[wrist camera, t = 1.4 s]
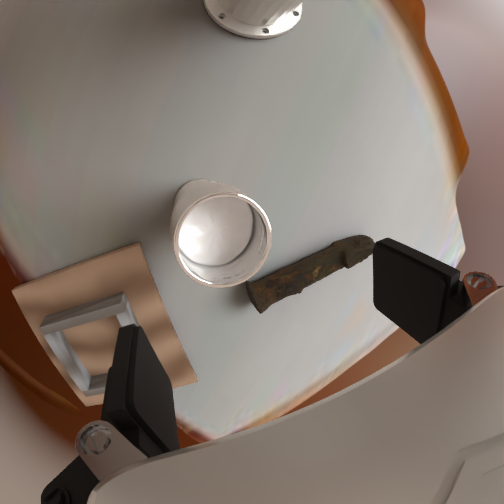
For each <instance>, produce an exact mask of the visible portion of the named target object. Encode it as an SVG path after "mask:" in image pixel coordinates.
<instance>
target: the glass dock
mask: <svg viewBox="0 0 504 504" xmlns="http://www.w3.org/2000/svg"><path fill="white" fill-rule="evenodd" d="M12 293H13V295H14V297H15V299H16V301H17V303H18V305H19V307H20V309H21V311H22V312H23V314H24V316H25V318H26V320H27V322H28V323H29V325H30V327H31V329H32V330H33V332H34V334H35V335H36V337H37V339H38V341H39V342H40V344H41V345H42V347H43V349H44V350H45V352H46V353H47V355H48V356H49V358H50V359H51V361H52V362H53V364H54V365H55V367H56V368H57V369H58V371H59V372H60V374H61V375H62V376H63V378H64V379H65V380H66V382H67V383H68V384H69V386H70V387H71V388H72V389H73V391H74V392H75V393H76V395H77V396H78V397H79V398H80V400H81V401H82V402H83V403H84V404H85V406H92V405H98V404H103V400H104V393H105V387H106V381H107V375H108V370H109V368H110V367H111V366H112V362H113V356H114V351H115V346H116V341H117V336H118V331H119V328H120V327H123V326H126V325H130V324H133V323H134V324H135V325H136V326H141V327H142V328H143V330H144V332H145V334H146V336H147V338H148V340H149V342H150V344H151V346H152V348H153V349H154V351H155V353H156V355H157V357H158V359H159V361H160V362H161V364H162V366H163V368H164V370H165V371H166V373H167V375H168V377H169V378H170V381H171V384H172V388H176V387H180V386H183V385H187V384H191V383H194V382H197V377H196V374H195V372H194V370H193V368H192V366H191V364H190V362H189V360H188V358H187V356H186V354H185V352H184V350H183V347H182V345H181V343H180V341H179V339H178V337H177V334H176V332H175V330H174V328H173V325H172V323H171V321H170V318H169V316H168V314H167V311H166V309H165V307H164V304H163V302H162V299H161V297H160V295H159V292H158V290H157V287H156V284H155V282H154V279H153V277H152V274H151V271H150V269H149V266H148V263H147V261H146V258H145V255H144V252H143V250H142V247H141V244H140V242H138V243H135V244H132V245H129V246H126V247H123V248H120V249H117V250H114V251H111V252H108V253H105V254H103V255H100V256H97V257H94V258H91V259H88V260H85V261H83V262H80V263H77V264H74V265H72V266H69V267H66V268H63V269H61V270H58V271H55V272H53V273H50V274H47V275H45V276H42V277H39V278H37V279H34V280H32V281H29V282H27V283H24V284H22V285H19V286H17V287H15V288H14V289H13V290H12Z"/></svg>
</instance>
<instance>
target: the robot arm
mask: <svg viewBox="0 0 504 504" xmlns="http://www.w3.org/2000/svg"><path fill="white" fill-rule="evenodd" d="M303 1H304V0H204V5H205V8H206V10H207V12H208V14H209V15H210V17H211V18H212V19H213V20H214V21H215V22H216V23H217V24H219V25H220V26H221V27H223V28H224V29H226V30H228V31H230V32H232V33H235V34H237V35H240V36H244V37H248V38H256V39H267V38H273V37H277V36H280V35H283V34H285V33H286V32H288V31H290V30H291V29H292V28H293V27H294V26H295V25H296V24H297V23H298V21H299V20H300V18H301V15H302V2H303ZM220 18H222V19H220ZM263 32H264V33H263ZM459 277H460V271H459V270H457V269H455V268H453V267H451V266H449V265H447V264H445V263H443V262H441V261H439V260H436V259H434V258H432V257H430V256H428V255H426V254H424V253H422V252H419V251H417V250H415V249H413V248H411V247H408V246H406V245H404V244H402V243H400V242H397V241H395V240H393V239H390V238H385V239H383V240H380V241H377V242H376V243H375V246H374V247H373V302H374V305H375V307H376V309H377V310H379V311H380V312H381V313H382V314H384V315H385V316H386V317H388V318H389V319H390V320H391V321H393V322H394V323H395V324H396V325H398V326H399V327H400V328H401V329H403V330H404V331H405V332H406V333H408V334H409V335H410V336H411V337H413V338H414V339H415V340H416V341H418V342H419V343H420V344H421V345H420V346H418V347H416V348H415V349H413V350H412V351H410V352H409V353H407V354H405V355H404V356H402V357H401V358H399V359H397V360H396V361H394V362H393V363H391V364H389V365H387V366H386V367H384V368H382V369H381V370H379V371H377V372H375V373H374V374H372V375H370V376H368V377H366V378H364V379H363V380H361V381H359V382H357V383H355V384H353V385H351V386H349V387H347V388H345V389H343V390H341V391H339V392H337V393H335V394H333V395H331V396H329V397H327V398H325V399H323V400H320V401H319V402H316V403H314V404H311V405H309V406H307V407H305V408H302V409H300V410H298V411H295V412H293V413H290V414H288V415H286V416H283V417H280V418H278V419H275V420H272V421H270V422H267V423H264V424H261V425H259V426H256V427H253V428H250V429H247V430H244V431H241V432H238V433H235V434H232V435H228V436H225V437H222V438H219V439H215V440H212V441H208V442H205V443H201V444H197V445H194V446H189V447H186V448H182V449H180V448H179V441H178V434H177V426H176V418H175V410H174V401H173V391H172V384H171V381H170V378H169V377H168V375H167V373H166V371H165V370H164V368H163V366H162V364H161V362H160V361H159V359H158V357H157V355H156V353H155V351H154V349H153V348H152V346H151V344H150V342H149V340H148V338H147V336H146V334H145V332H144V330H143V328H142V327H141V326H136V325H135V324H134V323H133V324H130V325H126V326H123V327H120V328H119V331H118V336H117V341H116V346H115V351H114V356H113V362H112V366H111V367H110V368H109V370H108V375H107V381H106V387H105V393H104V400H103V408H102V416H101V420H100V421H93V422H91V423H89V424H87V425H86V426H84V427H83V428H82V429H81V430H80V431H79V433H78V435H77V437H76V441H75V447H76V450H77V452H78V454H79V456H78V457H77V458H76V459H75V460H74V461H72V463H70V464H69V465H68V466H67V467H66V468H65V469H64V470H63V471H62V472H61V473H60V474H59V475H58V476H57V477H56V478H54V479H53V481H52V482H50V483H49V484H48V485H47V486H46V487H45V489H44V490H43V492H42V495H41V504H504V286H497V284H496V282H495V280H494V279H493V278H492V277H491V276H490V275H488V274H486V273H483V272H477V271H474V272H469V273H466V274H465V275H464V277H463V280H462V282H461V281H459Z"/></svg>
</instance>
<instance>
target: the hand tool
mask: <svg viewBox="0 0 504 504" xmlns="http://www.w3.org/2000/svg"><path fill="white" fill-rule="evenodd" d="M374 246H375V243H374V242H373V239H371V238H370V237H368V236H366V235H358V236H353V237H349V238H346V239H343V240H339V241H336V242H334V243H332V245H331V247H330V248H328V249H326V250H324V251H321V252H319V253H317V254H315V255H312V256H309V257H307V258H305V259H303V260H302V261H300V262H297V263H295V264H293V265H291V266H288V267H286V268H284V269H281V270H278V271H277V272H276V273H274V274H272V275H269V276H267V277H265V278H263V279H261V280H259V281H256V282H248V281H246V283H245V284H246V288H247V291H248V295H249V297H250V300H251V302H252V304H253V305H254V307H255V308H256V309H257V311H258V312H259V313H260V314H261V313H263V312H264V311H265V310H266V309H267V308H268V307H269V306H270V305H272V304H273V303H275V302H278V301H280V300H282V299H283V298H285V297H287V296H290V295H294V294H297V293H301V292H302V290H303V289H304V288H305V287H308V286H309V285H311V284H313V283H315V282H317V281H319V280H321V279H323V278H324V277H326V276H328V275H330V274H332V273H333V272H335V271H337V270H339V269H342V268H343V267H346V268H348V269H349V268H351V267H353V266H355V265H356V264H357V263H359V262H362V261H363V259H366V258H368V256H369V255H371V254H372V253H373V247H374Z"/></svg>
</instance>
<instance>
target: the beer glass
mask: <svg viewBox="0 0 504 504" xmlns="http://www.w3.org/2000/svg"><path fill="white" fill-rule="evenodd" d="M170 235H171V241H172V245H173V248H174V252H175V256H176V259H177V261H178V263H179V265H180V267H181V268H182V270H183V271H184V272H185V273H186V274H187V275H188V276H189V277H190V278H191V279H193V280H194V281H196V282H198V283H200V284H202V285H205V286H208V287H214V288H226V287H232V286H235V285H238V284H241V283H243V282H245V281H247V280H248V279H250V278H251V277H252V276H254V275H255V274H256V273H257V272H258V271H259V270H260V268H261V267H262V266H263V264H264V263H265V261H266V259H267V257H268V255H269V252H270V248H271V243H272V231H271V226H270V222H269V220H268V217H267V215H266V214H265V212H264V211H263V209H262V208H261V207H260V206H259V205H258V204H257V203H256V202H255V201H254V200H252V199H251V198H250V197H249V196H247V195H246V194H245V193H244V192H242V191H240V190H239V189H237V188H235V187H233V186H231V185H228V184H224V183H220V182H212V181H210V180H206V179H196V180H192V181H190V182H188V183H186V184H185V185H184V186H183V187H182V188H181V189H180V190H179V191H178V193H177V195H176V197H175V200H174V208H173V211H172V215H171V220H170Z"/></svg>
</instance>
